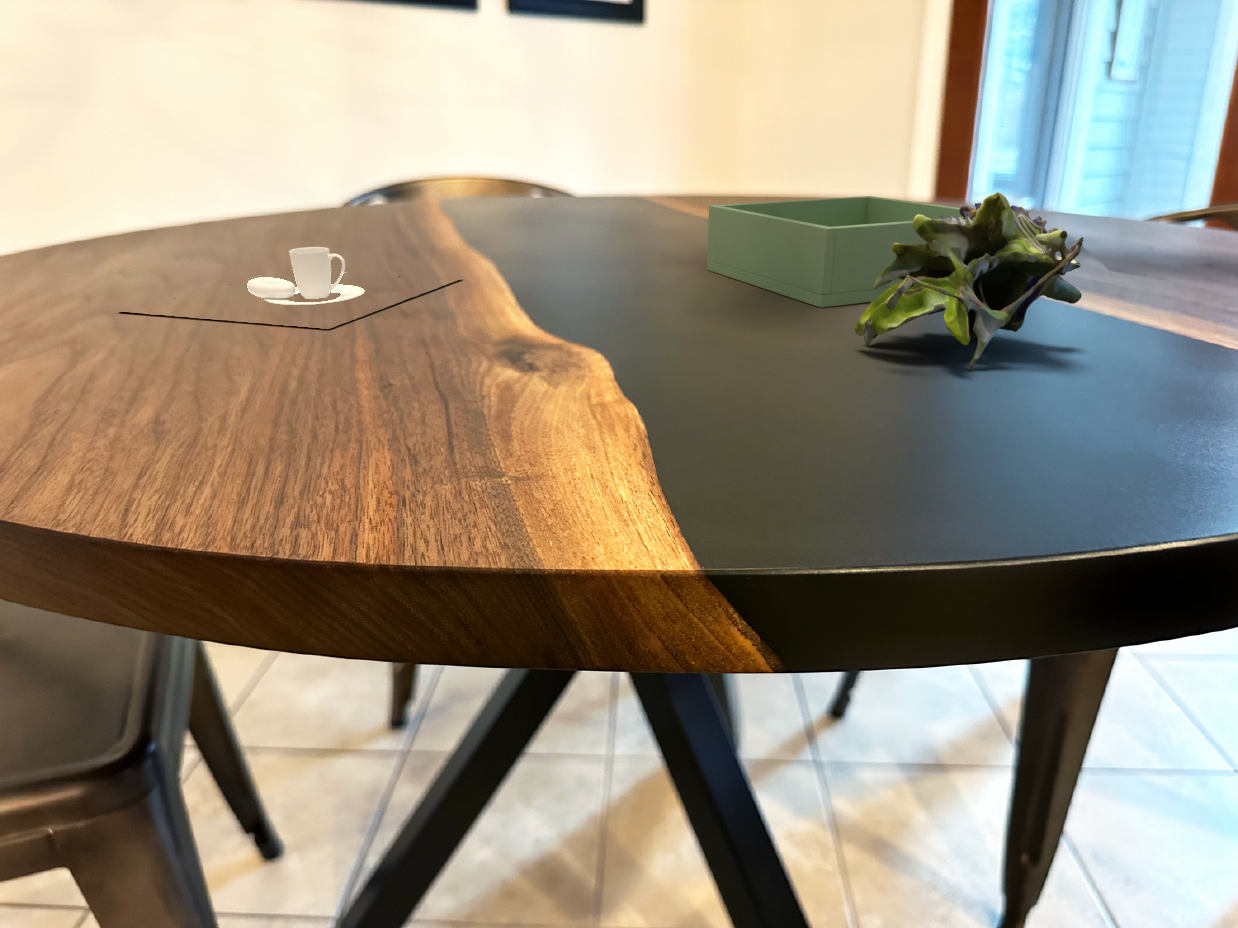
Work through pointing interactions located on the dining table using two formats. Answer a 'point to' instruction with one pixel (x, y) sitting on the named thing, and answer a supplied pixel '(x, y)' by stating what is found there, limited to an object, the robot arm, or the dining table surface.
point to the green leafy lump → (974, 273)
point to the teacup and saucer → (305, 280)
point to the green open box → (815, 245)
